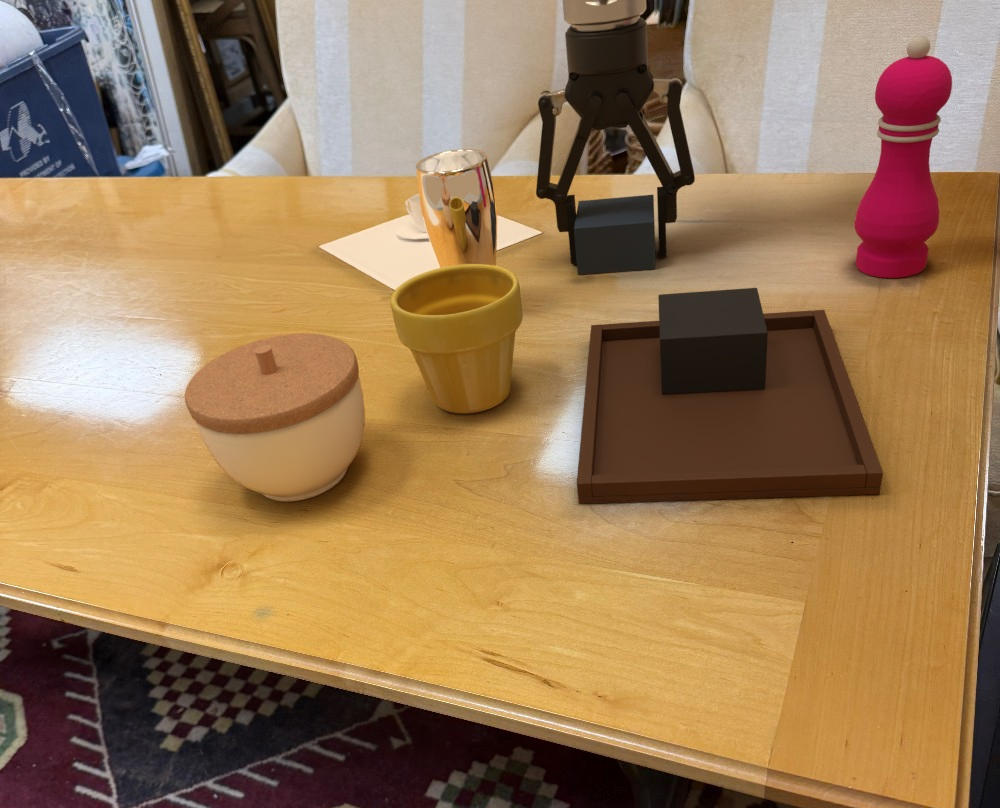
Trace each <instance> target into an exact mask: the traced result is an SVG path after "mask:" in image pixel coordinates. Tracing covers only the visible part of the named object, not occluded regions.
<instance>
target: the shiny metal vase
mask: <svg viewBox="0 0 1000 808" xmlns="http://www.w3.org/2000/svg"><path fill="white" fill-rule="evenodd" d="M489 164H490V163H489V159H488V154H487V153H486V152H484V150H480V149H473V148H461V149H459V148H457V149H451V150H446V151H441V152H437V153H433V154H431V155H428V156H426V157H424V158H422V159H420V160H419V161H418V162H417V163H416V165H415V170H416V176H417V188H418V194H419V197H420V204H421V211H422V216H423V220H424V225H425V228H426V232H427V235H428V238H429V241H430V244H431V246H432V249H433V252H434V255H435V257H436V260H437V263H438V265H439V268H443V267H447V266H454V265H462V264H488V265H494V266H497V251H498V250H497V215H498V209H497V199H496V193H495V188H494V182H493V179H492V172H491V169H490V165H489Z"/></svg>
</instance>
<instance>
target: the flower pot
mask: <svg viewBox="0 0 1000 808" xmlns="http://www.w3.org/2000/svg"><path fill="white" fill-rule="evenodd" d="M389 302H390V309H391V313H392V317H393V323H394V327H395V330H396V335H397V336H398V337H397V338H398V340H399V341H400V343H401V344H402V345H403V346H404V347H405V348H408V349H409V350H410V352H411V354H412V356H413V358H414V360H415V363H416V365H417V367H418V370H419V372H420V374H421V375H422V378H423V380H424V382H425V385H426V387H427V389H428V391H429V393H430V395H431V398H432V399H433V402H434V403H435V405H436V406H437V407H438V408H440V409H441V410H443V411H446V412H448V413H453V414H462V415H463V414H477V413H480V412H484V411H488V410H490V409H493V408H494V407H496V406H499V405H500V404H501V403H503V402H504V401H506V399H507V398H508V396H509V394H510V392H511V384H512V374H513V362H514V350H515V339H516V332H517V330H518V329H519V327H520V326H521V325H522V321H523V305H522V303H523V302H522V293H521V287H520V281H519V279H518V277H517V275H516V274H514V272H512V271H511V270H509V269H507V268H505V267H502V266H499V265H496V266H494V265H488V264H462V265H454V266H447V267H443V268H438V269H434V270H431V271H428V272H425V273H422V274H420V275H417V276H415V277H413V278H411V279H409V280H407V281H406V282H404V283H403V284H401V285H400V286H399V287H398V288H397V289H396V290H394V291H393V292H392V294H391V296H390V301H389Z"/></svg>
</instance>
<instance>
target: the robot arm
mask: <svg viewBox="0 0 1000 808" xmlns="http://www.w3.org/2000/svg"><path fill="white" fill-rule="evenodd" d="M561 1H562V11H563V21H564V22H566V24H568V25H569V27H568V28H566V29H567V30H566V31H565V33H564V35H565V36H564V37H565V48H566V50H565V51H566V61H567V76H568V79H567V82H566V84H565V88H562V89H559V90H555V91H550V90H543V91H542V92H541V93H540V95H539V98H538V102H537V105H538V110H539V114H540V119H541V124H542V125H541V134H540V135H541V137H540V144H539V145H540V146H539V156H538V166H537V167H538V169H537V177H536V178H537V179H536V188H535V196H536V197H537V198H538V199H540V200H544V199H547V200H550V201H552V202H553V204H554V207H555V208H554V209H555V217H556V228H557V230H558V232H559V233H568V244H569V255H570V265H577V258H576V247H575V235H574V226H575V220H576V214H577V208H576V206H577V205H576V196H575V195H576V194H569V191H570V189H571V186H572V183H573V181H574V178H575V175H576V172H577V171H578V170H577V169H578V167H579V164H580V162H581V159H582V156H583V154H584V150H585V148H586V145H587V142H588V140H589V138H590V136H591V133H592V130H593V129H594V131H604V130H605V129H608V128H616V129H623V128H625V129H626V128H628V127H630V129H631V131H632V133H633V135H634V136H635V137H636V139H637V141H638V143H639V145H640V147H641V148H642V150H643V152H644V155H645V156H646V159H647V160H648V162H649V164H650V165H651V167H652V169H653V171H654V173H655V175H656V177H657V179H658V181H659V183H660V184H661V186H656V197H657V198H656V201H657V235H658V257H659V258H661V259H662V258H667V256H668V255H667V224H674V223H676V221H677V218H678V201H677V198H678V197H677V196H678V191H679V190H680V189H682V188H684V187H685V186H692V185H693V184H694V183H695V180H696V176H695V170H694V165H693V161H692V155H691V152H690V147H689V143H688V137H687V133H686V129H685V124H684V120H683V119H684V118H683V115H682V110H681V99H682V91H683V86H682V85H683V84H682V80H681V78H680V77H679V76H677V75H673V76H671V77H669V78H654V76H653V74H652V73H651V72H650V68H649V51H648V48H649V47H648V46H649V45H648V23H647V21H646V20H645V19H644V18H643V17H642V16H641V15H643V14H644V13H645V12H646V10H647V0H561ZM652 93H654V94H656V95H657V96H658V101H659V103H660V104H662V105H666V112H667V118H668V122H669V127H670V131H671V137H672V141H673V145H674V150H675V154H676V157H677V162H678V163H677V164H678V167H679V170H677V171H675V172H673V170H672V168H671V166H670V164H669V162H668V161H667V158H666V157H665V155H664V152H663V150H662V149H661V147H660V145H659V143H658V141H657V139H656V138H655V135H654V133H653V132H652V129H651V128H650V126H649V123H648V121H647V119H646V116H645V114H644V112H643V111H642V109H644V106H645V105H646V104H647V102H648V100H649V98H650V96H651V95H652ZM564 103H568V105H569V106H570V107H571V108H572V110H573V111H574V112H575V113H576V114H577V115H578V116H579V117H580V120H579V123H578V125H577V128H576V131H575V134H574V137H573V139H572V143H571V146H570V148H569V151H568V153H567V156H566V159H565V161H564V165H563V166H562V170H561V173H560V176H559V178H558V182H557V183H553V182H551V175H552V167H553V156H554V147H555V145H554V144H555V134H556V127H557V117H559V115H561V113H562V111H563V105H564Z"/></svg>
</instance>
